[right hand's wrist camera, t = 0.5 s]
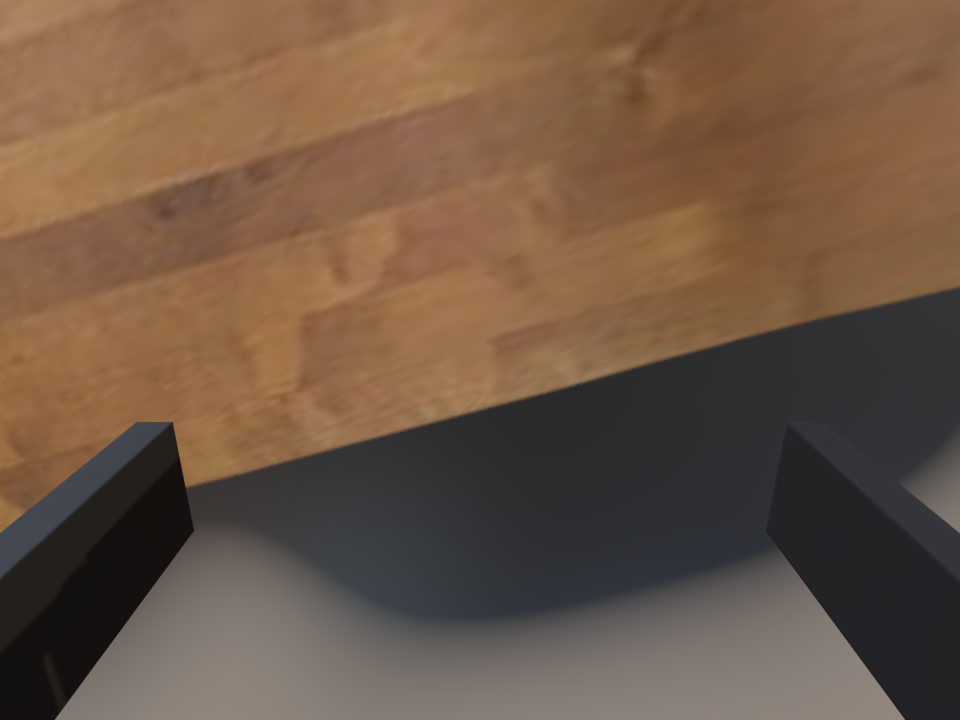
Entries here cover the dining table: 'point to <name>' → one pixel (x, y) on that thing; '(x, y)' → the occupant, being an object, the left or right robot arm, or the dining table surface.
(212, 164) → the dining table surface
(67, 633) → the right robot arm
